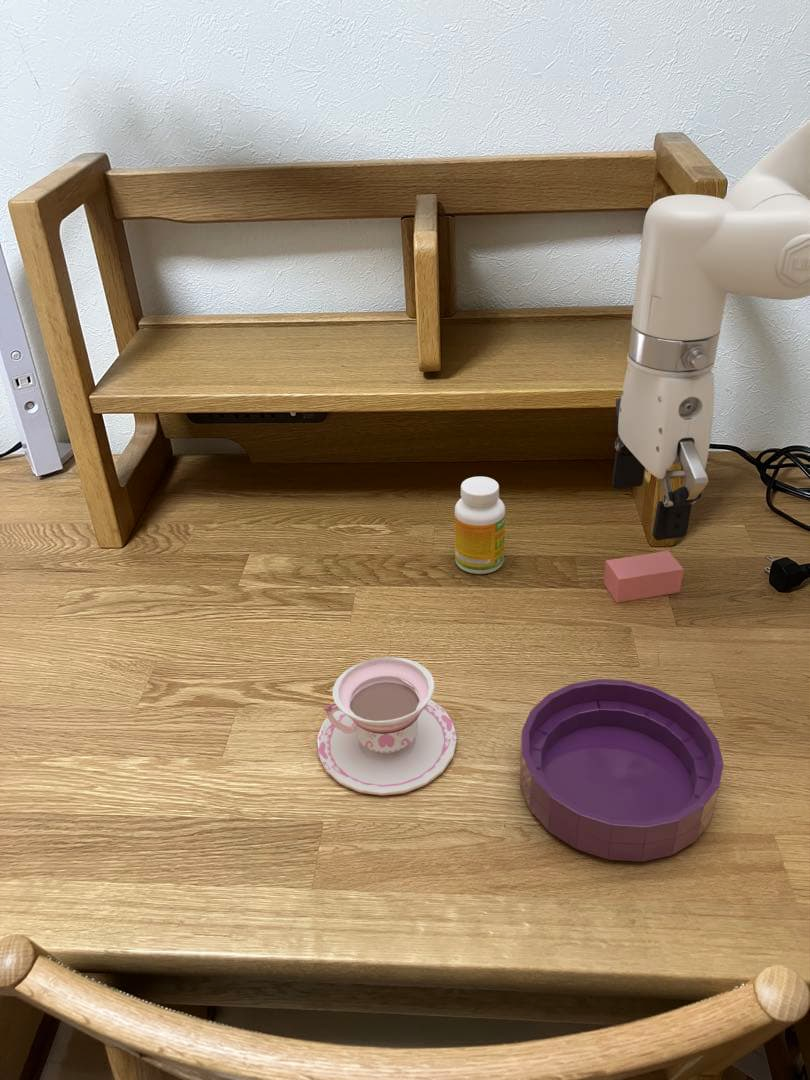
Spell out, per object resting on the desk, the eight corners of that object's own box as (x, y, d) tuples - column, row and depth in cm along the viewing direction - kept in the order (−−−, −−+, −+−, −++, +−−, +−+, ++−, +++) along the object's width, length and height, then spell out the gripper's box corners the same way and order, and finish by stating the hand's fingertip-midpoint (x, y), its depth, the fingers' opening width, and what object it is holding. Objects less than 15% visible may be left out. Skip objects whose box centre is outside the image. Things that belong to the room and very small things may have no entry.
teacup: (433, 682, 83) (432, 630, 80) (475, 778, 73) (476, 724, 70) (306, 710, 81) (299, 657, 77) (332, 812, 71) (325, 758, 68)
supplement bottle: (502, 577, 96) (504, 499, 91) (452, 574, 97) (451, 497, 92) (505, 549, 101) (507, 473, 95) (457, 546, 102) (457, 471, 96)
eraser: (665, 573, 96) (668, 550, 94) (679, 592, 93) (683, 569, 91) (603, 583, 95) (605, 560, 93) (616, 603, 92) (619, 579, 90)
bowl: (661, 704, 80) (667, 666, 77) (750, 843, 67) (761, 803, 65) (496, 734, 77) (497, 696, 75) (557, 884, 65) (561, 845, 62)
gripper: (763, 380, 73) (725, 554, 82) (668, 309, 87) (645, 464, 96) (677, 389, 71) (648, 565, 81) (595, 316, 86) (579, 473, 95)
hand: (647, 510), depth 89 cm, fingers open, 9 cm apart
